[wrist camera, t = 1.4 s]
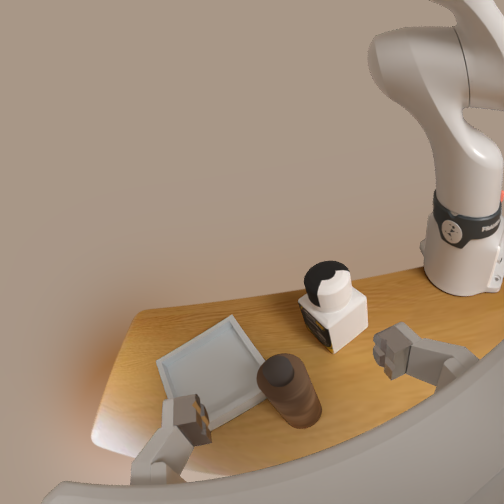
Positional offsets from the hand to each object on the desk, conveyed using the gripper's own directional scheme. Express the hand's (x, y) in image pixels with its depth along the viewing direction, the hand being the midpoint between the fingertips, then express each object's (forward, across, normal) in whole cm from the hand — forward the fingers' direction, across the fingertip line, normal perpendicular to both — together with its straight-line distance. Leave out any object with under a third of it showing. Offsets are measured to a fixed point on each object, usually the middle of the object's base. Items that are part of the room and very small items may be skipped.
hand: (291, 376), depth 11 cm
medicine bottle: (+24, -12, +20) cm, 33 cm away
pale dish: (+25, +8, +23) cm, 35 cm away
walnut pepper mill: (+14, -2, +23) cm, 27 cm away
